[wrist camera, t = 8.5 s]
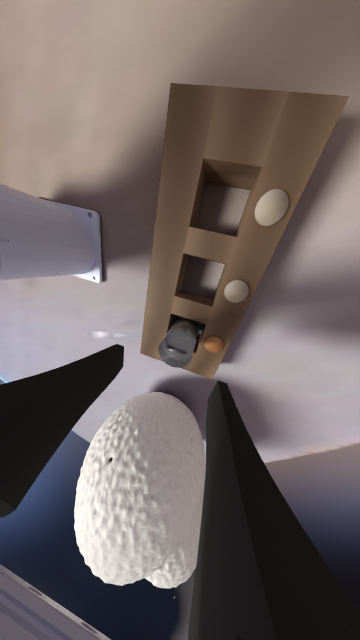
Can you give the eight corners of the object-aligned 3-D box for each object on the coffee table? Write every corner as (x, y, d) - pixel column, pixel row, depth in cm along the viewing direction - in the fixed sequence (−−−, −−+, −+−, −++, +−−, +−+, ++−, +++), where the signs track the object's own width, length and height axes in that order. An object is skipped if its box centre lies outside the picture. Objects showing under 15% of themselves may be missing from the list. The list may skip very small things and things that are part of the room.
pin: (177, 328, 18) (157, 361, 12) (180, 308, 17) (159, 334, 11) (197, 333, 18) (188, 371, 12) (202, 313, 17) (195, 343, 10)
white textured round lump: (140, 347, 21) (-8, 516, 7) (242, 396, 20) (308, 714, 6) (122, 410, 30) (41, 541, 16) (192, 446, 29) (171, 622, 15)
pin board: (150, 341, 20) (139, 354, 17) (181, 128, 11) (169, 78, 8) (212, 363, 19) (212, 380, 16) (311, 143, 10) (352, 92, 7)
